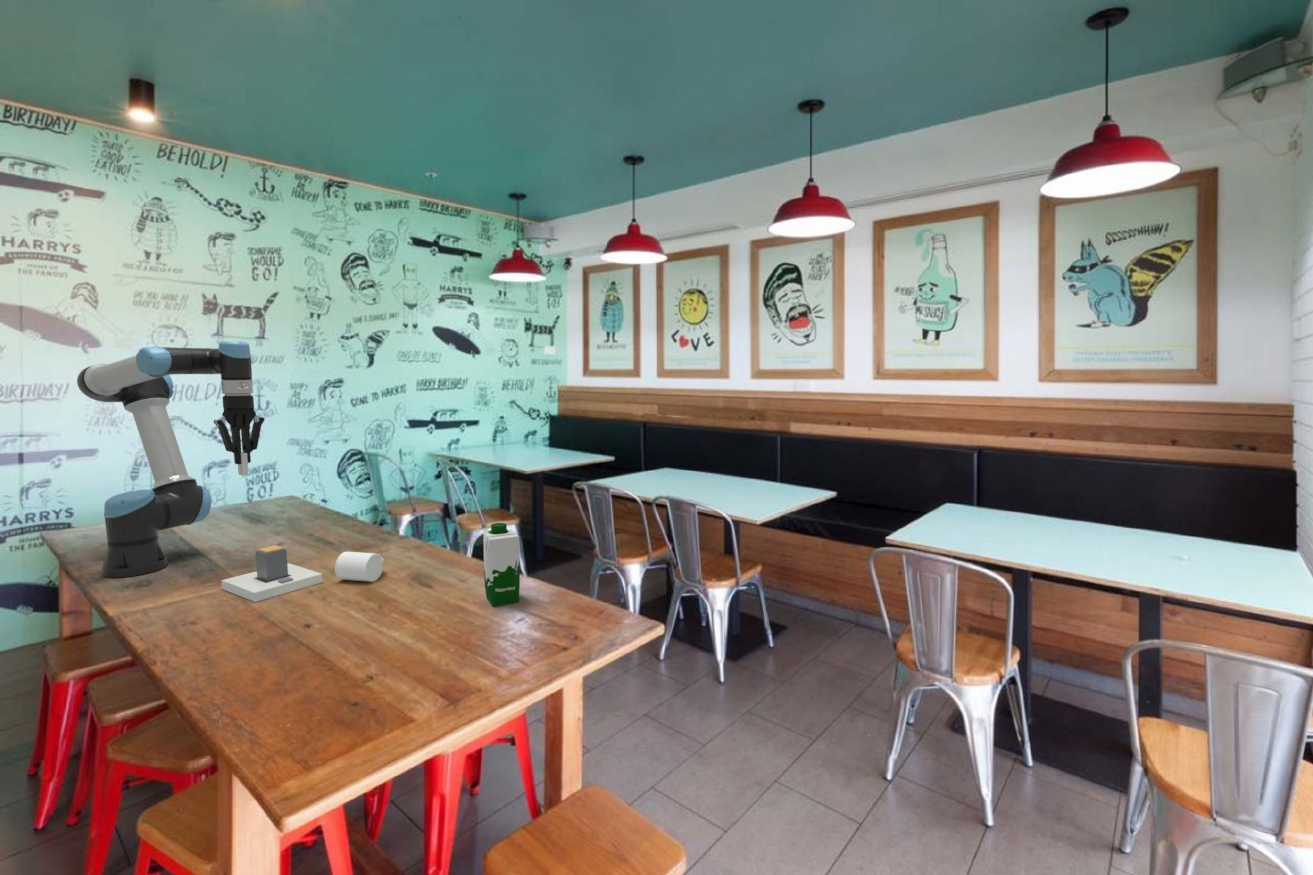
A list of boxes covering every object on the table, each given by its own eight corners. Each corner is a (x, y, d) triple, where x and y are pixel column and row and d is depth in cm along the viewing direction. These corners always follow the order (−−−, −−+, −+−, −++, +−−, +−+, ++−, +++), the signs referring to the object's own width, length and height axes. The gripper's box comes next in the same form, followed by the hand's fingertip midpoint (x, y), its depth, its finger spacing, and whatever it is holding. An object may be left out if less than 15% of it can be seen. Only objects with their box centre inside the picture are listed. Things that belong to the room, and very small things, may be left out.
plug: (257, 585, 175) (255, 549, 174) (278, 579, 180) (275, 544, 178) (268, 589, 172) (265, 552, 171) (288, 583, 177) (286, 547, 176)
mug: (366, 585, 176) (365, 558, 175) (335, 583, 178) (333, 555, 177) (392, 572, 188) (391, 546, 187) (362, 569, 190) (361, 544, 189)
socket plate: (222, 588, 173) (221, 578, 173) (288, 571, 188) (288, 561, 188) (255, 602, 164) (254, 590, 163) (322, 582, 179) (322, 571, 178)
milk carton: (514, 592, 172) (512, 520, 169) (523, 603, 164) (522, 528, 161) (482, 597, 168) (480, 524, 165) (489, 609, 160) (487, 532, 157)
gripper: (219, 396, 175) (225, 479, 178) (268, 394, 186) (273, 472, 189) (206, 395, 179) (212, 476, 182) (255, 393, 190) (260, 470, 193)
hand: (243, 474), depth 185 cm, fingers closed
